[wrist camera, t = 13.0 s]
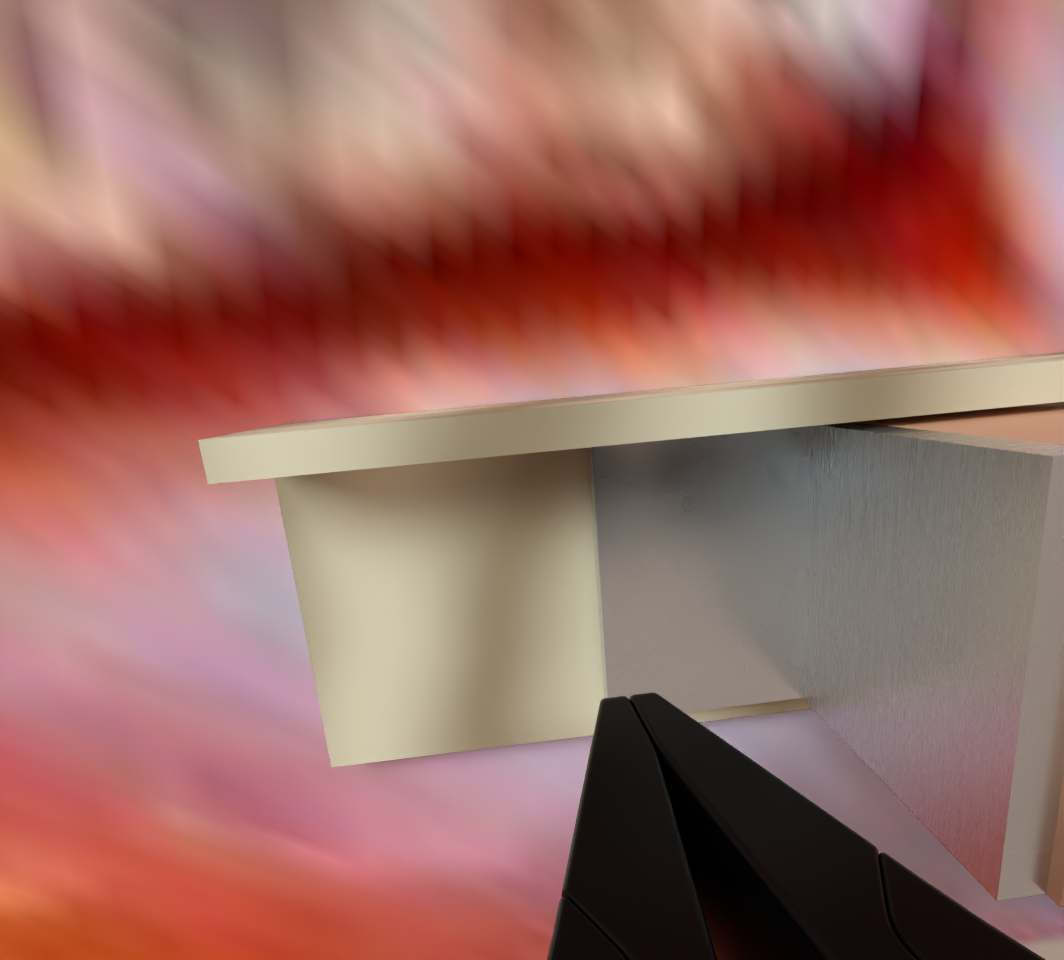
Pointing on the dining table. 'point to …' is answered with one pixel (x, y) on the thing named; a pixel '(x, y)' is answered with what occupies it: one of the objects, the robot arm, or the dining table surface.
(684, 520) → the bookend
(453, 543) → the beige piece
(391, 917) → the dining table surface
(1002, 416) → the terracotta book
